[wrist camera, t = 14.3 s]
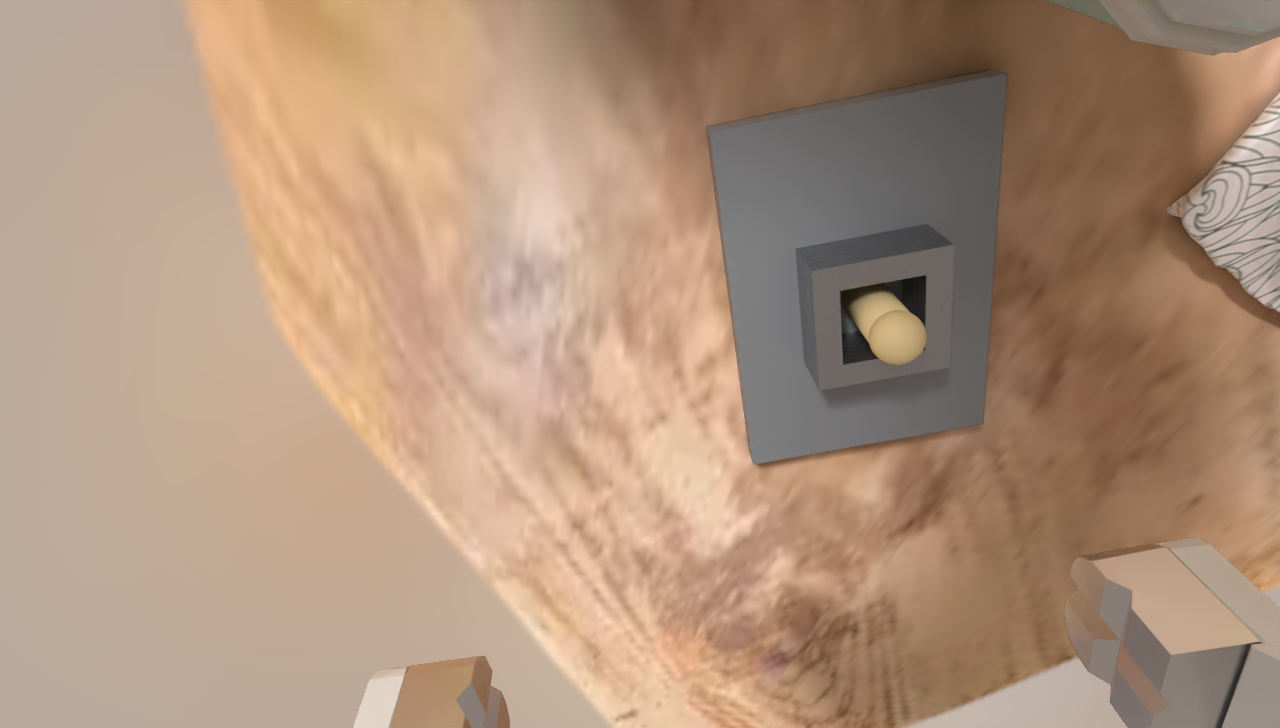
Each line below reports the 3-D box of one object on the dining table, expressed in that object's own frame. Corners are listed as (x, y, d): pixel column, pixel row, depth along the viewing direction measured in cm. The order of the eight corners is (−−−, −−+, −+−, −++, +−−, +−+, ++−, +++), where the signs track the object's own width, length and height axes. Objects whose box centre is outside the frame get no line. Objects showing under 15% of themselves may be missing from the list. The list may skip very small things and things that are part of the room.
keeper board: (706, 126, 35) (731, 163, 28) (991, 69, 34) (1089, 93, 27) (748, 450, 44) (775, 536, 37) (971, 410, 44) (1040, 491, 37)
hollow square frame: (795, 248, 36) (811, 271, 34) (926, 223, 36) (954, 244, 33) (803, 361, 40) (819, 390, 37) (924, 339, 39) (949, 367, 36)
